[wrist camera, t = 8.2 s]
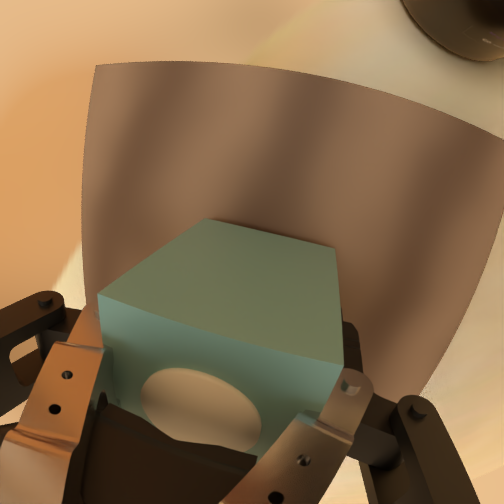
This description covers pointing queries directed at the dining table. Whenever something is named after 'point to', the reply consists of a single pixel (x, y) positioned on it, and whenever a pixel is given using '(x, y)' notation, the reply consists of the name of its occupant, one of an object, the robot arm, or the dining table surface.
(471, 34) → the supplement bottle
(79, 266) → the dining table surface
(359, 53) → the dining table surface
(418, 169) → the brown wooden board
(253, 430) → the green cube with circle
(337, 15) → the dining table surface
